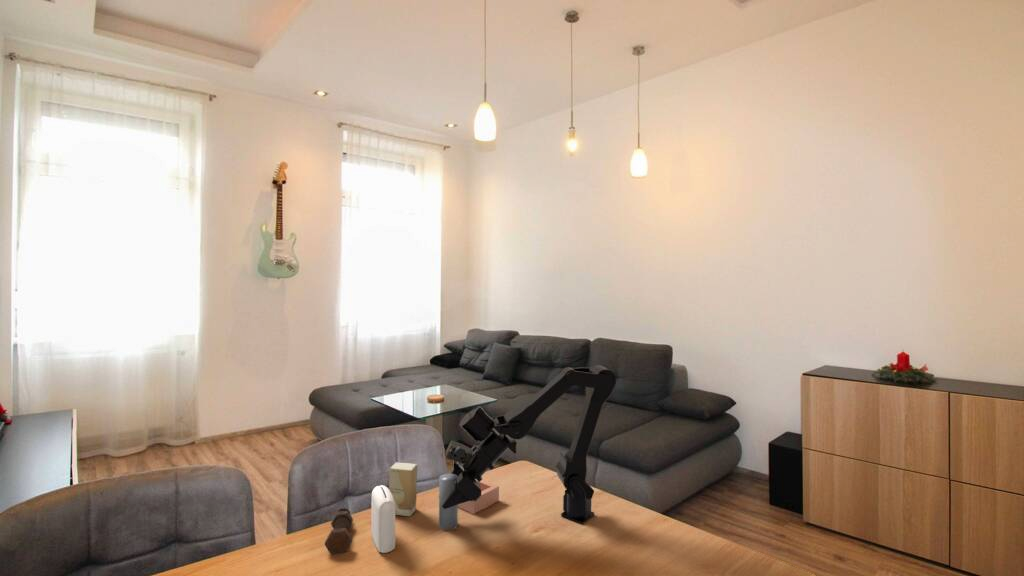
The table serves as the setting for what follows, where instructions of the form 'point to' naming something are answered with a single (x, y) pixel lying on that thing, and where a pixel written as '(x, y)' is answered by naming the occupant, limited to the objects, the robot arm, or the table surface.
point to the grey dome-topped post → (449, 515)
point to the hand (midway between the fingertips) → (443, 498)
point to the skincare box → (403, 487)
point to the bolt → (339, 532)
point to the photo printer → (383, 519)
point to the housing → (482, 498)
